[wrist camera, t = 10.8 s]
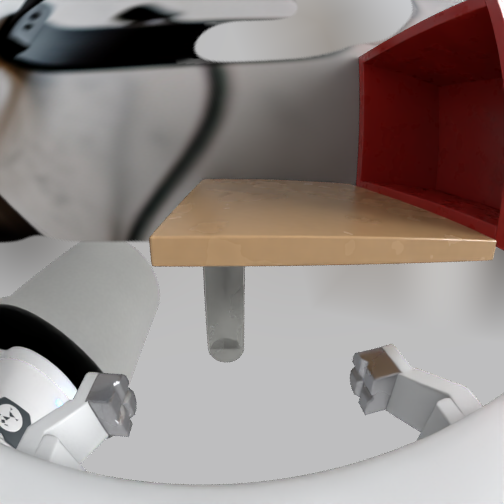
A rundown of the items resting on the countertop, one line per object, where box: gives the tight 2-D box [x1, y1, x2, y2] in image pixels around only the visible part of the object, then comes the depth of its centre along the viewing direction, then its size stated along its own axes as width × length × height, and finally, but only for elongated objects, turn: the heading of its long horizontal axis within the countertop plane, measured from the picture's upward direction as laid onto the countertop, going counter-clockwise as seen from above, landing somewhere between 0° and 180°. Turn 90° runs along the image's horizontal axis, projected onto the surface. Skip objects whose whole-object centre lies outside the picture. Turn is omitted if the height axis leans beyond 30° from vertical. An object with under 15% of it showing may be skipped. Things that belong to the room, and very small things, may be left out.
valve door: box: [149, 179, 497, 362], centre depth 15 cm, size 6×12×15 cm, turn 89°
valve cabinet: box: [356, 0, 504, 250], centre depth 13 cm, size 9×12×16 cm
